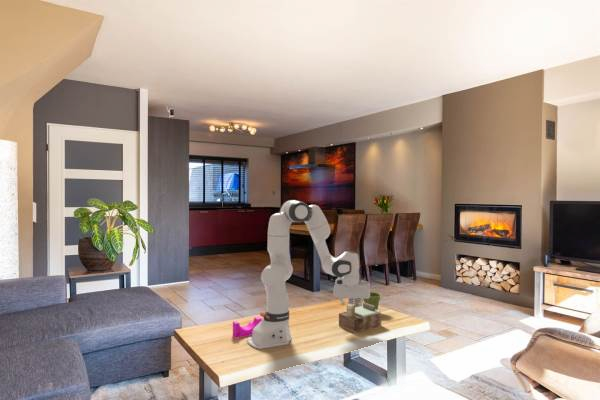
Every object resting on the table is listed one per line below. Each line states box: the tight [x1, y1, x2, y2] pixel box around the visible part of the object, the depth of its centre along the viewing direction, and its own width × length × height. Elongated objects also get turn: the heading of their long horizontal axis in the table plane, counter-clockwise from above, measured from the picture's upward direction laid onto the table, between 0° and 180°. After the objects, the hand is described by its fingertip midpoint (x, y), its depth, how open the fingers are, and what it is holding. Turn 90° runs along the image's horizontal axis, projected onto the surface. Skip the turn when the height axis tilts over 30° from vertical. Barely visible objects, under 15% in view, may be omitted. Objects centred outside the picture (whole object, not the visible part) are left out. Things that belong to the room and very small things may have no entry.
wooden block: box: [346, 303, 355, 317], centre depth 204 cm, size 3×3×12 cm
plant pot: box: [363, 291, 382, 311], centre depth 233 cm, size 12×12×11 cm
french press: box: [347, 298, 362, 308], centre depth 239 cm, size 10×12×25 cm
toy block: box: [232, 316, 263, 339], centre depth 197 cm, size 15×6×8 cm, turn 122°
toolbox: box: [338, 311, 382, 334], centre depth 209 cm, size 20×13×7 cm, turn 125°
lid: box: [355, 302, 382, 317], centre depth 210 cm, size 13×13×4 cm
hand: (351, 305), depth 204 cm, fingers open, 8 cm apart
